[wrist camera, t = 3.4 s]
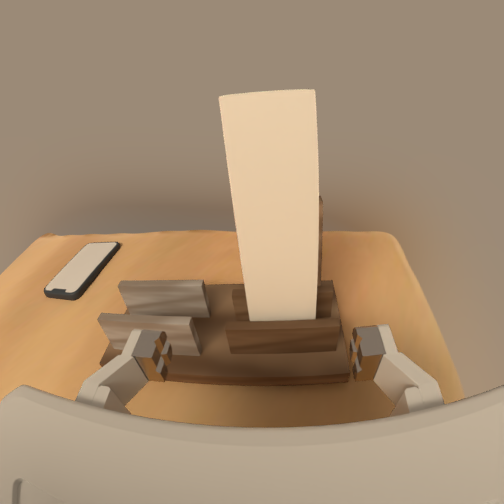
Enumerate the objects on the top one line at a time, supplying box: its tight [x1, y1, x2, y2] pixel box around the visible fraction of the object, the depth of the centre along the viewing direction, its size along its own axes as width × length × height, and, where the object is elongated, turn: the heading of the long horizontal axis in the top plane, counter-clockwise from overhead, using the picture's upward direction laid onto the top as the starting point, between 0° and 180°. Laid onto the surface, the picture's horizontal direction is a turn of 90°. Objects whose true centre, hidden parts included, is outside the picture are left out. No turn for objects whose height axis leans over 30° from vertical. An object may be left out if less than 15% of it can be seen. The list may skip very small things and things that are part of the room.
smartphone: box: [44, 242, 120, 300], centre depth 46 cm, size 9×2×16 cm
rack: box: [97, 280, 350, 386], centre depth 30 cm, size 14×25×6 cm, turn 86°
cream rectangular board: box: [219, 89, 319, 321], centre depth 23 cm, size 2×6×22 cm, turn 86°
